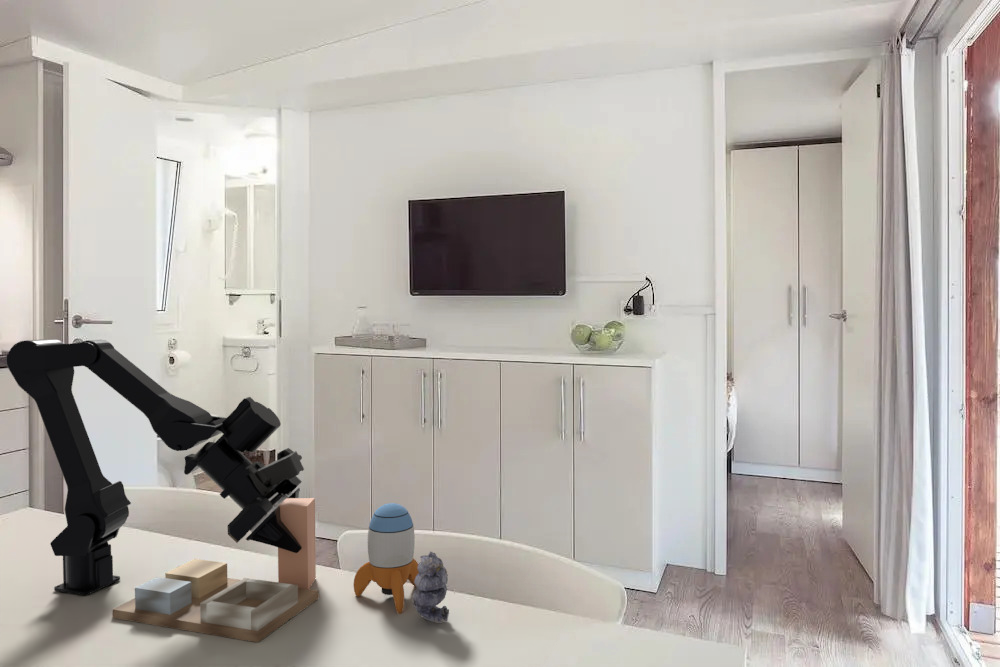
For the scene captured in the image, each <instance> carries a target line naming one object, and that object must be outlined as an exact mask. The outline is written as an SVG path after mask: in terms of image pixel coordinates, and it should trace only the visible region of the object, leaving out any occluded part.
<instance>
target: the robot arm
mask: <svg viewBox="0 0 1000 667" xmlns="http://www.w3.org/2000/svg"><path fill="white" fill-rule="evenodd" d="M5 361H6V366H7V369H8V370H9V372H10V374H11V375H12V377H13V379H14V381H15V383H16V384H17V386H18V387H20V389H22V390H23V392H25V393H26V394H27V395H29V397H31V399H33V400H34V402H35V404H36V407H37V409H38V411H39V415H40V416H41V419H42V420H41V421H42V422H43V425H44V428H45V430H46V433H47V436H48V438H49V441H50V444H51V446H52V450H53V451H54V454H55V458H56V461H57V463H58V465H59V469H60V471H61V474H62V476H63V479H64V482H65V484H66V488H67V492H66V499H65V503H64V504H65V505H64V513H65V520H66V527H65V528H63V529H62V530H61V532H60V533H59V534H58V535H56V536H55V537H54V538H53V540H52V541H50V547H51V550H52V552H53V555H54V556H55V557H62V571H63V572H62V575H63V576H62V577H63V581H62V582H63V583H60V584H58V585H56V586H54V587H53V590H54V591H56V592H62V593H67V594H73V595H80V596H87V595H90V594H92V593H94V592H96V591H98V590H101V589H102V588H105V587H107V586H109V585H112V584H114V583H115V582H118V581H120V580H121V576H119V575H115V574H114V566H113V565H114V564H113V563H114V562H113V561H114V560H113V558H114V557H113V555H112V545H111V544H109V541H111V540H113V539H116V538H117V537H118V534H119V531H120V528H122V527H123V526H124V525H125V524H126V521H127V520H128V517H129V515H130V509H129V505H131V504H132V502H131V501H130V500H129V499H128V498H127V496H126V493H125V492H126V491H125V486H124V484H123V482H122V481H121V480H118V481H117V482H115V483H112V482H111V481H110V480H109V479H107V477H105V476H104V474H103V473H102V470H101V466H100V465H99V461H98V459H97V456H96V454H95V450H94V447H93V445H92V443H91V440H90V437H89V435H88V432H87V429H86V427H85V424H84V421H83V419H82V416H81V412H80V410H79V407H78V405H77V402H76V400H75V396H74V395H73V390H72V389H73V383H74V376H75V367H82V366H83V367H85V368H87V369H88V370H89V371H91V372H92V373H93V374H94V375H96V376H97V377H98V378H99V379H101V380H102V381H103V382H104V383H106V384H107V385H108V386H109V387H110V388H111V389H113V390H114V391H115V392H117V393H118V394H119V395H120V396H121V397H123V398H124V399H125V400H126V401H128V402H129V403H130V404H131V405H133V406H134V407H135V408H136V409H137V410H139V411H140V412H141V413H143V415H144V416H145V417H146V418H147V420H148V422H149V423H150V426H151V428H152V431H154V433H155V434H156V435H157V436H158V437H159V439H161V441H162V442H163V443H164V444H165V446H166V447H168V448H169V449H171V450H172V451H176V452H181V451H188V450H190V449H192V448H195V447H197V446H199V445H201V444H203V443H205V442H206V443H205V444H204V445H203V446H202V447H201V448H200V449H199V450H198V451H197V452H196V453H190V454H187V455H186V456H184V461H185V462H184V463H185V464H184V469H183V474H184V475H187V476H188V475H190V474H191V473H194V472H195V471H198V469H200V470H201V471H202V472H204V473H205V475H206V476H207V477H208V478H210V479H211V481H212V482H214V483H215V485H217V486H218V487H219V488H220V489H221V492H220V493H219V496H220V497H221V498H222V499H224V500H226V499H227V498H228V497H229V498H230V499H231V500H232V501H233V502H234V503H235V504H237V506H239V508H240V509H241V511H239V512H238V514H237V515H236V516H235V517H234V518H233V520H231V521H230V522H229V523H228V524H227V535H228V537H230V538H231V539H232V540H233V541H234V542H235V543H236V544H238V543H239V542H240V541H241V540H242V539H243V538H244V537H245V536H246V538H245V540H246V541H247V542H248V541H254V542H256V543H257V542H258V543H261V544H265V545H270V546H272V547H275V548H277V549H278V548H281V549H285V550H288V551H291V552H294V553H298V552H299V551H300V550H301V549H302V547H301V545H300V544H299V542H298V541H297V540H296V538H295V537H294V536H293V535H292V533H291V532H290V531H289V530H288V528H287V527H286V526H285V525H284V523H283V522H282V521H281V518H280V506H278V505H280V504H281V503H282V502H283V501H284V500H285V499H286V498H300V495H299V494H300V491H301V490H300V487H299V485H300V484H301V483H302V480H301V479H300V478H299V477H297V476H298V475H300V472H301V471H302V472H303V471H305V468H304V466H303V464H302V461H301V460H302V458H303V457H302V455H301V454H299V453H298V452H297V451H296V450H295V451H294V450H292V449H291V448H289V447H288V448H285V449H282V450H281V451H279V452H278V453H277V455H276V456H277V457H276V460H274V461H272V462H270V463H269V464H266V465H264V464H263V463H262V462H261V461H257V460H255V461H254V462H252V461H251V460H250V459H248V458H247V457H246V455H244V454H243V453H245V452H249V453H254V452H256V451H257V450H259V448H260V447H261V446H262V445H263V444H264V443H265V442H266V441H267V440H268V439H269V438H270V437H271V436H272V434H274V433H275V432H276V431H277V430H278V429H279V428H280V427H281V420H280V419H279V417H278V416H277V415H276V414H277V413H275V412H274V411H273V410H272V409H271V408H270V407H267V406H265V405H264V404H262V403H260V402H258V401H256V400H254V399H253V397H251V396H247V397H245V398H243V399H242V400H240V402H239V403H238V405H237V407H236V408H235V409H234V410H233V411H232V412H231V413H230V414H229V415H228V416H227V417H223V416H215V415H212V414H211V413H210V412H209V411H207V410H206V409H204V408H202V407H201V406H199V405H197V404H195V403H194V402H191V401H189V400H187V399H183V398H181V397H178V396H176V395H173V394H172V393H171V392H169V391H167V389H165V388H164V387H162V386H161V384H159V383H157V382H156V381H155V380H154V379H152V377H150V376H149V375H148V374H146V373H145V372H144V371H142V370H141V369H140V368H139V367H138V366H136V365H135V364H134V363H133V362H131V361H130V360H129V358H127V357H125V356H124V355H123V354H122V353H120V351H118V350H117V349H115V346H114V345H113V344H112V343H111V342H109V341H108V340H106V339H89V340H84V341H81V342H74V343H66V342H63V341H62V340H59V339H54V338H48V339H47V338H46V339H45V338H44V339H30V340H29V339H28V340H20V341H18V342H17V343H14V344H13V345H12V346H11V348H10V349H9V352H8V354H6V356H5ZM221 434H222V435H221ZM219 435H221V436H220V437H219V438H218V439H217V440H216V441H208V440H210V439H211V438H214V437H216V436H219ZM207 441H208V442H207ZM297 487H298V488H297ZM296 488H297V489H296ZM294 490H295V491H294ZM277 506H278V507H277ZM248 532H251V533H250V534H248ZM247 534H248V536H247Z"/></svg>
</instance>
